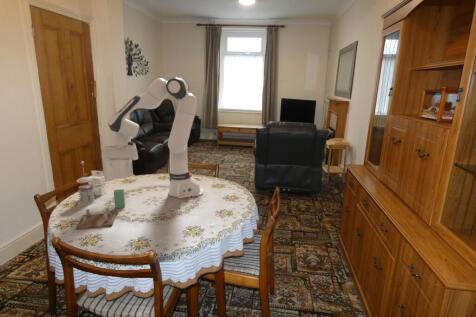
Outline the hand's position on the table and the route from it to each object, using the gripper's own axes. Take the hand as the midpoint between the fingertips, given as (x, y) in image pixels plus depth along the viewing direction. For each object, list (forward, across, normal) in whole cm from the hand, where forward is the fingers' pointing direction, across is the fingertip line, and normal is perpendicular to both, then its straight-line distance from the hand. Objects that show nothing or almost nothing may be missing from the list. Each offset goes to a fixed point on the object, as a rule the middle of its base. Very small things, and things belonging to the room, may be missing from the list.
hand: (119, 165), depth 170 cm
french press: (+17, -18, +13) cm, 28 cm away
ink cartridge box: (+8, -15, +22) cm, 28 cm away
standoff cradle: (+35, -8, -6) cm, 36 cm away
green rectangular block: (+24, +1, +6) cm, 24 cm away
